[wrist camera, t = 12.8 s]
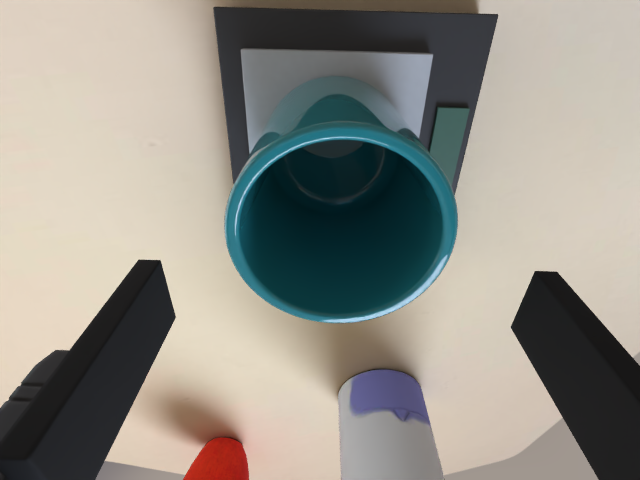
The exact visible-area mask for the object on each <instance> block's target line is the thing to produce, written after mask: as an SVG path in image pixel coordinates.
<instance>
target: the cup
mask: <svg viewBox="0 0 640 480" xmlns="http://www.w3.org/2000/svg"><path fill="white" fill-rule="evenodd" d="M457 227H458V213H457V205H456V200H455V196H454V193H453V190H452V187H451V185H450V183H449V181H448V179H447V177H446V175H445V174H444V172H443V170H442V169H441V168H440V166H439V165H438V163H437V162H436V161H435V159H434V158H433V157H432V155H431V154H430V153H429V151H428V150H427V149H426V147H425V146H424V145H423V143H422V142H421V141H420V140H419V138H418V137H417V136H416V134H415V133H414V132H413V130H412V129H411V128H410V126H409V125H408V124H407V122H406V121H405V120H404V118H403V117H402V116H401V114H400V113H399V112H398V110H397V109H396V108H395V107H394V105H393V104H392V103H391V102H390V100H389V99H388V98H387V97H386V96H385V95H384V94H383V93H382V92H380V91H379V90H378V89H376V88H375V87H373V86H372V85H370V84H368V83H366V82H364V81H361V80H359V79H355V78H352V77H346V76H325V77H320V78H316V79H312V80H310V81H307V82H305V83H303V84H301V85H299V86H297V87H296V88H294V89H293V90H291V91H290V92H289V93H288V94H287V95H286V96H285V97H283V98H282V100H281V101H280V102H279V103H278V104H277V106H276V107H275V108H274V110H273V112H272V113H271V115H270V117H269V119H268V121H267V122H266V124H265V126H264V128H263V130H262V132H261V134H260V136H259V138H258V140H257V141H256V143H255V145H254V147H253V149H252V151H251V153H250V155H249V157H248V158H247V160H246V162H245V164H244V166H243V168H242V170H241V172H240V174H239V176H238V177H237V179H236V181H235V183H234V186H233V188H232V190H231V192H230V195H229V198H228V201H227V206H226V210H225V219H224V230H225V239H226V244H227V248H228V251H229V254H230V257H231V259H232V262H233V264H234V266H235V268H236V269H237V271H238V273H239V274H240V276H241V277H242V278H243V280H244V281H245V282H246V284H247V285H248V286H249V287H250V288H251V289H252V290H253V291H254V292H255V293H256V294H257V295H259V296H260V297H261V298H262V299H264V300H265V301H266V302H268V303H269V304H271V305H273V306H274V307H276V308H278V309H280V310H282V311H284V312H286V313H289V314H291V315H293V316H297V317H300V318H303V319H307V320H311V321H317V322H324V323H353V322H360V321H365V320H370V319H374V318H377V317H380V316H383V315H386V314H389V313H391V312H393V311H395V310H397V309H399V308H401V307H403V306H405V305H407V304H408V303H410V302H411V301H413V300H414V299H416V298H417V297H418V296H419V295H421V294H422V293H423V292H424V291H425V290H426V289H427V288H428V287H429V286H430V285H431V284H432V283H433V282H434V281H435V280H436V278H437V277H438V276H439V275H440V273H441V272H442V270H443V269H444V267H445V265H446V263H447V262H448V260H449V257H450V255H451V253H452V250H453V247H454V244H455V240H456V235H457Z"/></svg>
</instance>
